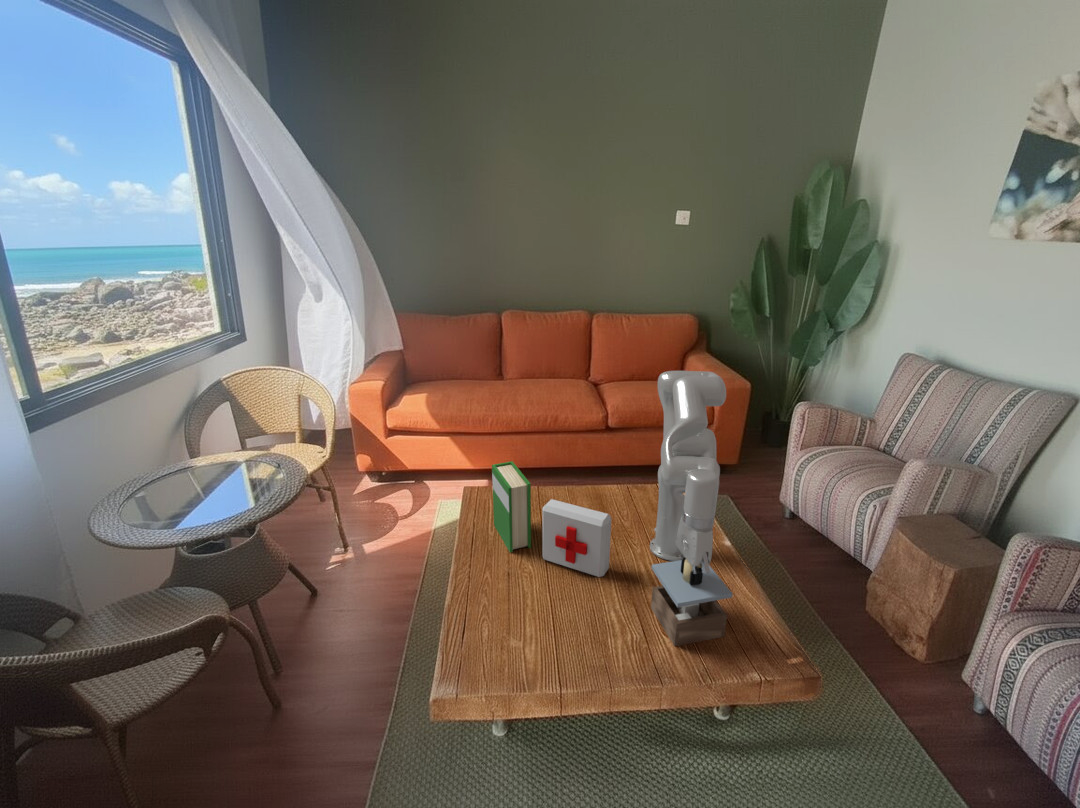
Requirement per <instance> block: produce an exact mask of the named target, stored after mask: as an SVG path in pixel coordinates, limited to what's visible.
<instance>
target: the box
mask: <svg viewBox="0 0 1080 808" xmlns="http://www.w3.org/2000/svg"><path fill="white" fill-rule="evenodd" d="M651 591H652V592H651V603H650V609H651V611H652V612H653V614H654V615H655V617H656V619H657V620H658V622H659V624H660V625H661V627H662V628H663V630H664V631H665V634H666V635H667V637H668V638H669V640H670V641H671V643H672V645H673V646H674V647H679V646H683V645H688V644H693V643H698V642H704V641H708V640H714V639H719V638H724V637H725V634H726V626H727V620H728V614H727V612H726V611H725V610H724V609H723V607H722V606H721V605H720V603H719V602H718V600H715V601H710V602H704V603H699V612H698V617H693V618H689V619H684V620H678V619H677V617H676V616H675V615H677V614H681V613H680V612H679V610H678V609H677V608H678V607H677V606H676V605H675V603H674V602H673V600H672V599H671V597H670V596H669V594H668V593H667V591H666V590H665V588H664V587H663V585H659V586H658V585H657V586H652V590H651Z"/></svg>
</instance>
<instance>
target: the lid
mask: <svg viewBox="0 0 1080 808" xmlns="http://www.w3.org/2000/svg"><path fill="white" fill-rule="evenodd" d="M682 560H683V559H682ZM682 560H677V561H666V562H660V563H654V564H651V570H652V571H653V573H654V574H655V576H656V578H657V579H658V581H659V582H660V583H661V586H663V587H664V588H665V590H666V591H667V593H668V594H669V596H670V597H671V599H672V600H673V602H674V603H675V605H676V606H677V607H682V606H688V605H693V604H699V603H704V602H710V601H715V600H716V601H720V600H727V599H731V598H733V596H734V593H733V592H732V590H730V589H729V587H728V586H727V585H726V583H725V582H724V581H723V580H722V578H720V576H719V575H718V574H717V573H716V571H715V570H714V569H713V568H712V567H711V565H709V568H710V573H703V577H702V583H701V584H696V585H690V584H689V582H690V574H691V571H692V569H693V566H692V565H691V564H690V563H689V562H688V561H687V559H685V562H684V571H683V573H681V562H682ZM697 568H700V564H699V565H698V566H697Z"/></svg>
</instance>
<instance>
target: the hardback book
mask: <svg viewBox="0 0 1080 808" xmlns="http://www.w3.org/2000/svg"><path fill="white" fill-rule="evenodd" d="M491 474H492V475H491V477H492V479H491V480H492V482H491V483H492V501H493V503H492V505H493V526H494V528H495V530H496V531H497V533H498V535H499V536H501V537H500V538H501V539H502V542H503V541H504V542H503V543H504V545H505V547H506V549H507V548H508V549H507V551H508V552H509V553H510V554H512V553H511V552H514V551H513V550H516V549H517V550H518V549H520V548H525V547H527V549H528V548H529V549H531V548H532V515H531V514H532V504H531V503H532V495H531V493H532V490H531V489H532V488H531V487H532V485H531V482H530V481H529V480H528V478H526V476H525V475H524V473H522V471H521V470H520V469H519V468H518V466H517V465H516V464H515V463H514V461H512V460H511V461H505V462H500V463H499V462H498V463H496V464H495V463H494V464H491Z"/></svg>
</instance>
